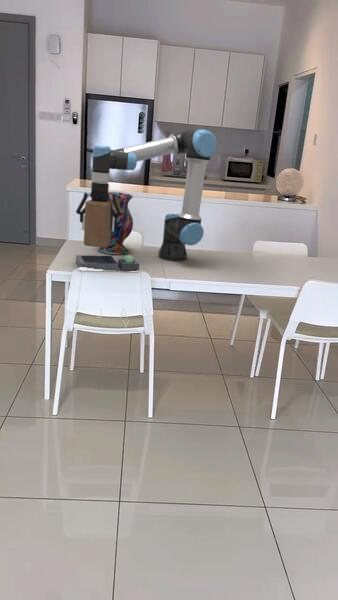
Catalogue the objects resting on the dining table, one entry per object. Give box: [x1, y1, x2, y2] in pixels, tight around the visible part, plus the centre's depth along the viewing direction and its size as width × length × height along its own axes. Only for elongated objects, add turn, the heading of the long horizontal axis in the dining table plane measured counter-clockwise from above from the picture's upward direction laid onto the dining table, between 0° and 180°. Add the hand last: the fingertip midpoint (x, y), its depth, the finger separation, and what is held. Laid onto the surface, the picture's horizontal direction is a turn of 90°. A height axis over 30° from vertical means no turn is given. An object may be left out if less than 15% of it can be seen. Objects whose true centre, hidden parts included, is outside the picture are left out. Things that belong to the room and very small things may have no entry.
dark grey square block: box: [117, 258, 140, 272], centre depth 225 cm, size 8×8×4 cm
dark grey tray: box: [75, 254, 119, 272], centre depth 225 cm, size 17×15×4 cm
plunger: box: [124, 254, 134, 263], centre depth 224 cm, size 4×4×5 cm
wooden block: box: [83, 199, 112, 248], centre depth 219 cm, size 10×10×20 cm
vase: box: [98, 191, 134, 255], centre depth 253 cm, size 18×18×30 cm
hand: (97, 230), depth 220 cm, fingers closed on wooden block, 13 cm apart
